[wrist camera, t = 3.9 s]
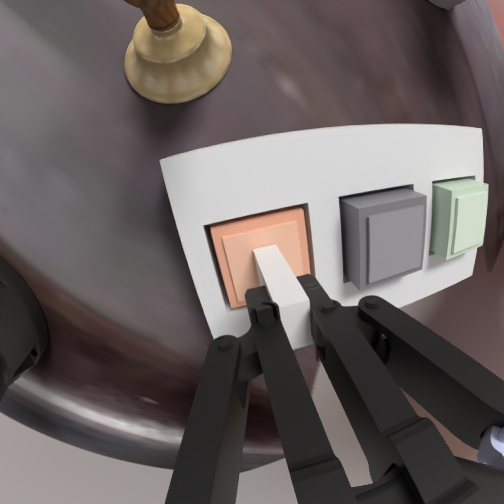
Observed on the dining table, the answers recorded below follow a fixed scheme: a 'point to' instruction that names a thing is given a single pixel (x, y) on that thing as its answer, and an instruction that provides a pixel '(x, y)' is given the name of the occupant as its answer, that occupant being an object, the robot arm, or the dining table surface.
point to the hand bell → (175, 52)
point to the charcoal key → (382, 235)
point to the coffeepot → (446, 3)
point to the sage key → (457, 216)
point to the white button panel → (316, 200)
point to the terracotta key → (257, 236)
